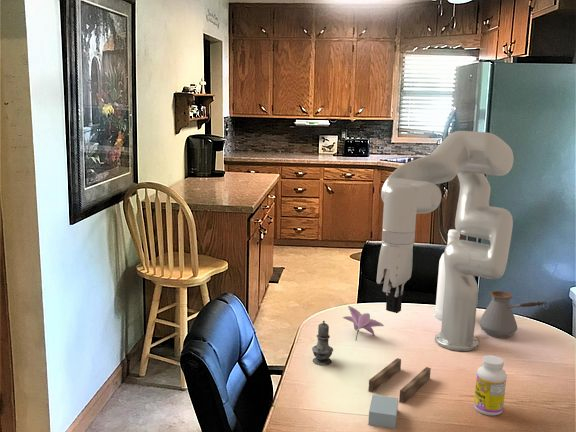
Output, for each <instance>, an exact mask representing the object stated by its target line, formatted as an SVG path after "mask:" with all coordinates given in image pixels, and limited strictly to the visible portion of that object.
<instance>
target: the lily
mask: <svg viewBox="0 0 576 432" xmlns="http://www.w3.org/2000/svg"><path fill="white" fill-rule="evenodd" d="M348 310H349V311H350V315H351V316H349V315H348V316H342V318H343V319H345V320H347V321H349V322H351V323H353V329H354V330H357V331H356V334H355V341H357V339H358V334H359V330H361V329H363V330H366V331H367V332H368V333H370V334H371V335H374V336H375V331H374V329H373V328H375V327H385V325H384V324H383V323H382V322H380V321H378V320H375V319H373V318H371V316H370V315H371V314H370V313H368V312H365V313H361V312H360V311H359V310H357V308H354V307H353V306H350V305H348Z"/></svg>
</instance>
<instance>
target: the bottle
mask: <svg viewBox="0 0 576 432" xmlns="http://www.w3.org/2000/svg"><path fill="white" fill-rule="evenodd" d="M460 237H461V234H460V233H458V232H457V231H456V228H454V229H451V228H450V229H449V230H448V233H447V244H448V243H450V242H451V241H454V240H460V239H461V238H460ZM447 244H446V245H447ZM437 274H438V275H437V287H436V297H435V298H436V299H435V309H434V318H436V319H437V320H439V321H441V322H442V315H443V303H444V292H445V262H444V252H442V254H441V256H440V258H439V263H438V273H437Z"/></svg>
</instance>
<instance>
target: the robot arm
mask: <svg viewBox="0 0 576 432" xmlns="http://www.w3.org/2000/svg"><path fill="white" fill-rule="evenodd" d="M513 165H514V153H513V150H512V148H511V147H510V145H509V144H508V143H506V142H505V141H504V140H503V139H502V138H501V137H499V136H497V135H496V134H494V133H491V132H483V131H473V130H472V131H470V130H469V131H468V130H455V131H452V132H451V133H449V134H448V135H447V136H446V137H445V138H444V140H442V141H441V143H439V144H438V146H436V147H435V149H434V150H433V151H432V152H431V153H430V154H428V155H425V156H422V157H419V158H417V159H414V160H411V161H409V162H406V163H404V164H402V165H400V166H398V167H397V168H396V169H395V170H394V171H392V172H391V174H390V175H389V176H388V177H387V178H386V179H385V181H384V183H383V185H382V187H381V194H380V196H381V197H380V198H381V200H382V202H383V212H382V230H381V231H382V232H381V247H380V250H379V256H378V263H377V273H376V284H378V285H382V284H383V286H382V293H385V295H386V303H385V304H386V305H385V310H386V311H387V312H390V313H391V312H392V313H394V314H398V313H400V312H402V302H403V299H402V298H403V294H404V286H405V284H406V283H407V281H409V280H410V279H411V277H412V271H413V251H414V250H413V246H414V245H415V239H416V238H415V236H416V235H415V233H416V221H417V219H416V218H417V214H429V213H432V212H433V211H435V210H437V208H438V207H439V206H440V205H441V202H442V191H441V189H440V187H439V186H438V184H443V183H447V182H450V181H452V180H453V179H455V178H456V176H457V178H458V181H459V192H458V193H459V194H458V201H457V207H456V212H455V219H454V229H455V230H456V231H457V232H458V233H460V235H462V236H467V237H471V238H477V239H483V240H488V241H489V244H486V243H482V242H477V241H470V240H466V239H459V240H454V241H451V242H450V243H448V242H447V243H448V244H446V246H445V248H444V252H443V253H444V262H445V292H444V303H443V315H442V321H441V329H440V332H438V333H436V334H435V338H434V339H435V341H434V342H436V344H438V345H439V346H441V347H443V348H445V349H448V350H452V351H456V352H457V351H458V352H469V351H473V350H475V349H477V348H478V347H479V344H480V342H479V340H478V339H477V338H476V337H475V327H476V315H477V306H478V296H479V286H478V283H477V280H476V279H475V277H479V278H484V279H489V280H499V279H501V278H502V277H503V275H504V274H505V271H506V268H507V264H508V259H509V252H510V247H511V240H512V235H513V228H514V227H513V226H514V225H513V224H514V220H513V215H512V214H511V212H510V210H508V209H506V208H503V207H499V206H490V197H491V190H492V189H491V185H490V182H489V181H488V179H487V177H486V175H489V176H497V177H498V176H499V177H501V176H502V177H503V176H505V175H507V174H509V172H510V171H511V170H512V168H513ZM474 276H475V277H474Z"/></svg>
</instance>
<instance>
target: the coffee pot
mask: <svg viewBox="0 0 576 432" xmlns="http://www.w3.org/2000/svg"><path fill="white" fill-rule="evenodd" d="M490 296H491V301H490V302H489V303H488V305H487V307H486V308H485V310H484V312H483V313H482V315H481V317H480V318H479V321H478V324H479V327H480V328H481V330H482V331H483V333H485V334H486V335H487V336H491V337H494V338H498V339H499V338H501V339H504V338H509V337H510V336H511V335H513V334H514V333H516V331H517V330H518V323H517V321H516V318H515V315H514V311H513V309H514V308H523V307H524V308H525V307H527V308H529V307H532V308H533V307H535V306H538V307H539V306H542V307H543V309H544V310H548V309H549V304H548V303H547V302H546V301H537V302H532V301H531V302H524V303H518V304H510V300H511V299H512V297H513V295H512V293H510V292H508V291H507V292H506V291H503V290H493V291H491V292H490ZM545 305H546V306H547V308H546V307H544V306H545Z"/></svg>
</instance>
